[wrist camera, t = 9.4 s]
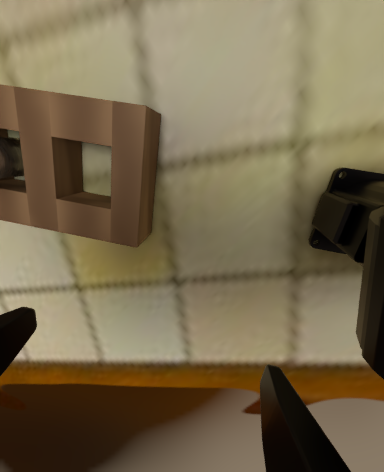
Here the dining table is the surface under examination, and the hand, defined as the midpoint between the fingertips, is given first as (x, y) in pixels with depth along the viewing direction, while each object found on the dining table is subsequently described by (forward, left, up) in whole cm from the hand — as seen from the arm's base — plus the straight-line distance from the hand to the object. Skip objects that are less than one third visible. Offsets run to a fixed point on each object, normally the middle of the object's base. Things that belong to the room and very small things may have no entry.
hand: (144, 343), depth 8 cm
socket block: (+12, -4, -13) cm, 18 cm away
